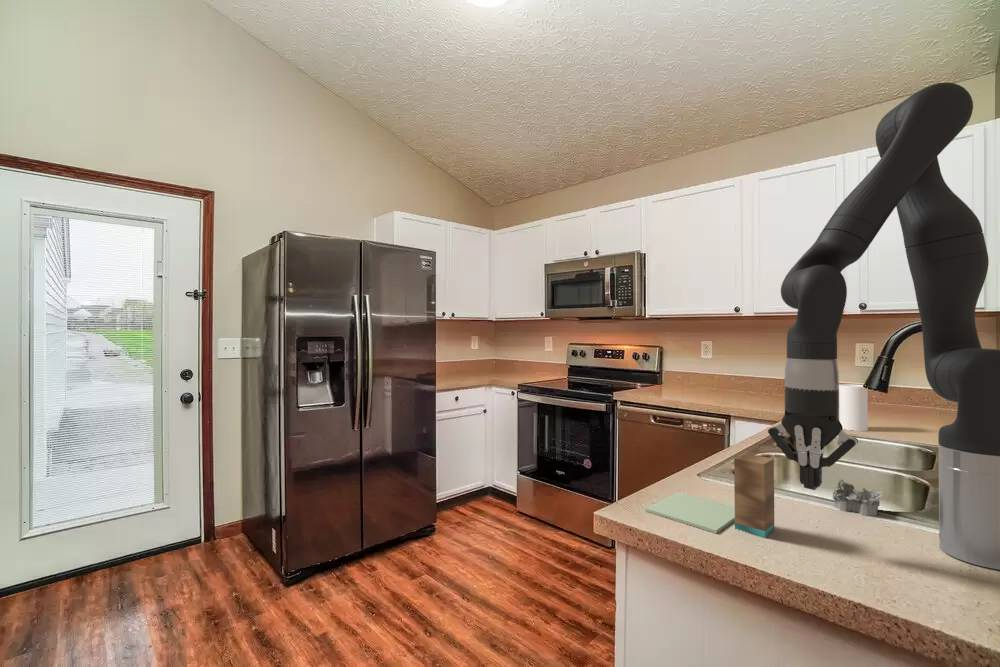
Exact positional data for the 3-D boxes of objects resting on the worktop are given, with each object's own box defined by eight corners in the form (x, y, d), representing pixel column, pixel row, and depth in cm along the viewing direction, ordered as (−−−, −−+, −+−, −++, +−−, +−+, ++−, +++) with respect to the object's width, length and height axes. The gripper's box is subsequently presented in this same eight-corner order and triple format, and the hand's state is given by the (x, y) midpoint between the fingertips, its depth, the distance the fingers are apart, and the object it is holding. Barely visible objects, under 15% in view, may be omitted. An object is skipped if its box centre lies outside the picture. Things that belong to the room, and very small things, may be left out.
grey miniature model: (840, 496, 100) (840, 477, 100) (884, 505, 94) (884, 486, 94) (828, 509, 92) (828, 489, 92) (876, 520, 87) (876, 498, 87)
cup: (842, 425, 171) (841, 383, 171) (869, 428, 165) (869, 385, 165) (837, 428, 166) (836, 385, 166) (865, 432, 160) (865, 387, 160)
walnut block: (774, 529, 83) (773, 458, 83) (764, 538, 79) (764, 464, 79) (745, 521, 86) (744, 453, 86) (734, 529, 83) (734, 458, 83)
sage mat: (745, 512, 91) (745, 509, 91) (716, 533, 81) (716, 530, 81) (678, 494, 101) (678, 491, 101) (645, 511, 92) (645, 508, 92)
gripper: (865, 387, 74) (864, 493, 74) (774, 380, 84) (774, 474, 84) (855, 391, 69) (854, 505, 69) (760, 383, 79) (759, 483, 79)
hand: (810, 487), depth 76 cm, fingers closed
